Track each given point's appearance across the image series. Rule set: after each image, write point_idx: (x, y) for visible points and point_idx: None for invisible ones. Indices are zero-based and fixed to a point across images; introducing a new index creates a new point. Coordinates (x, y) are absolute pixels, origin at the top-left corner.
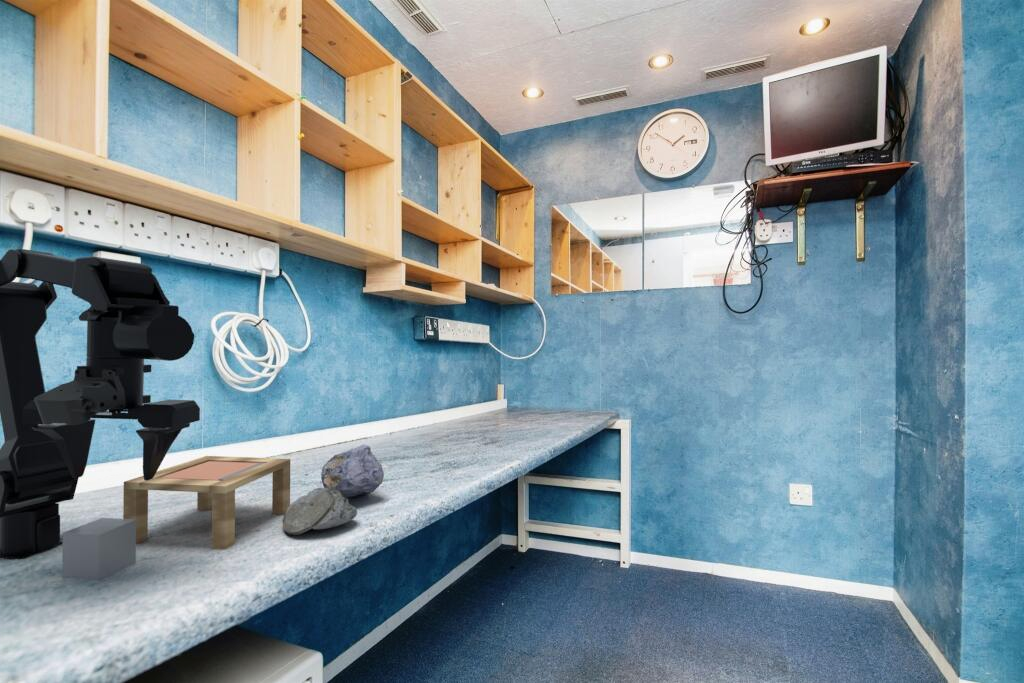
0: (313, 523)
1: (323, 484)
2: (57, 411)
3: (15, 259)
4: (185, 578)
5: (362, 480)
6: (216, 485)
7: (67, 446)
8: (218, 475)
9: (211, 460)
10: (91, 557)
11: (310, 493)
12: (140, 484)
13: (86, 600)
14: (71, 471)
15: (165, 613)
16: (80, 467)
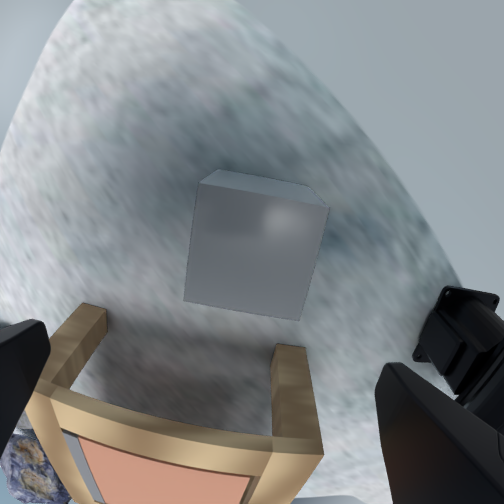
0: None
1: (44, 451)
2: None
3: None
4: (70, 189)
5: None
6: (35, 393)
7: (490, 478)
8: (110, 465)
9: None
10: (232, 178)
11: (24, 419)
12: (268, 447)
13: (189, 101)
14: (414, 378)
15: (39, 80)
16: (390, 413)
